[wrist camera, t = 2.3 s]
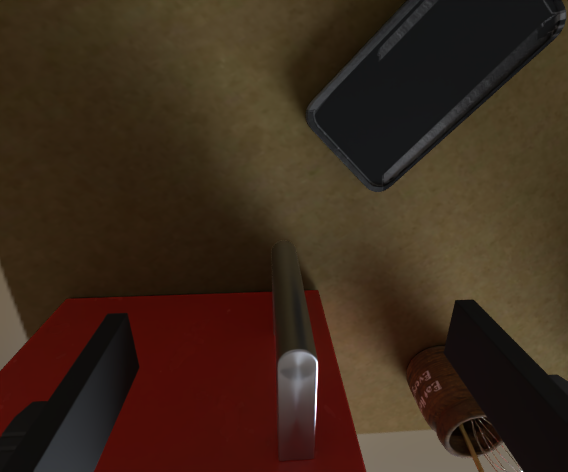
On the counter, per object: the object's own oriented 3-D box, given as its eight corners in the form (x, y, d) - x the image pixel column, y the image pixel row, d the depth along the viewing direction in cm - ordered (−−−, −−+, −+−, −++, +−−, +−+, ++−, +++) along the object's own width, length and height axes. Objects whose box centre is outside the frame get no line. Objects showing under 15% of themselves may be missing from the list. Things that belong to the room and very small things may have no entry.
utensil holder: (469, 339, 31) (580, 476, 20) (461, 389, 34) (556, 535, 23) (405, 346, 31) (481, 487, 20) (402, 396, 34) (468, 545, 23)
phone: (573, 22, 20) (377, 198, 24) (558, 25, 21) (372, 194, 25) (505, -104, 18) (298, 115, 22) (492, -94, 19) (297, 113, 23)
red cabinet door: (43, 223, 25) (-371, 488, 9) (321, 217, 26) (418, 444, 10) (70, 310, 28) (-200, 627, 12) (317, 301, 29) (387, 583, 13)
